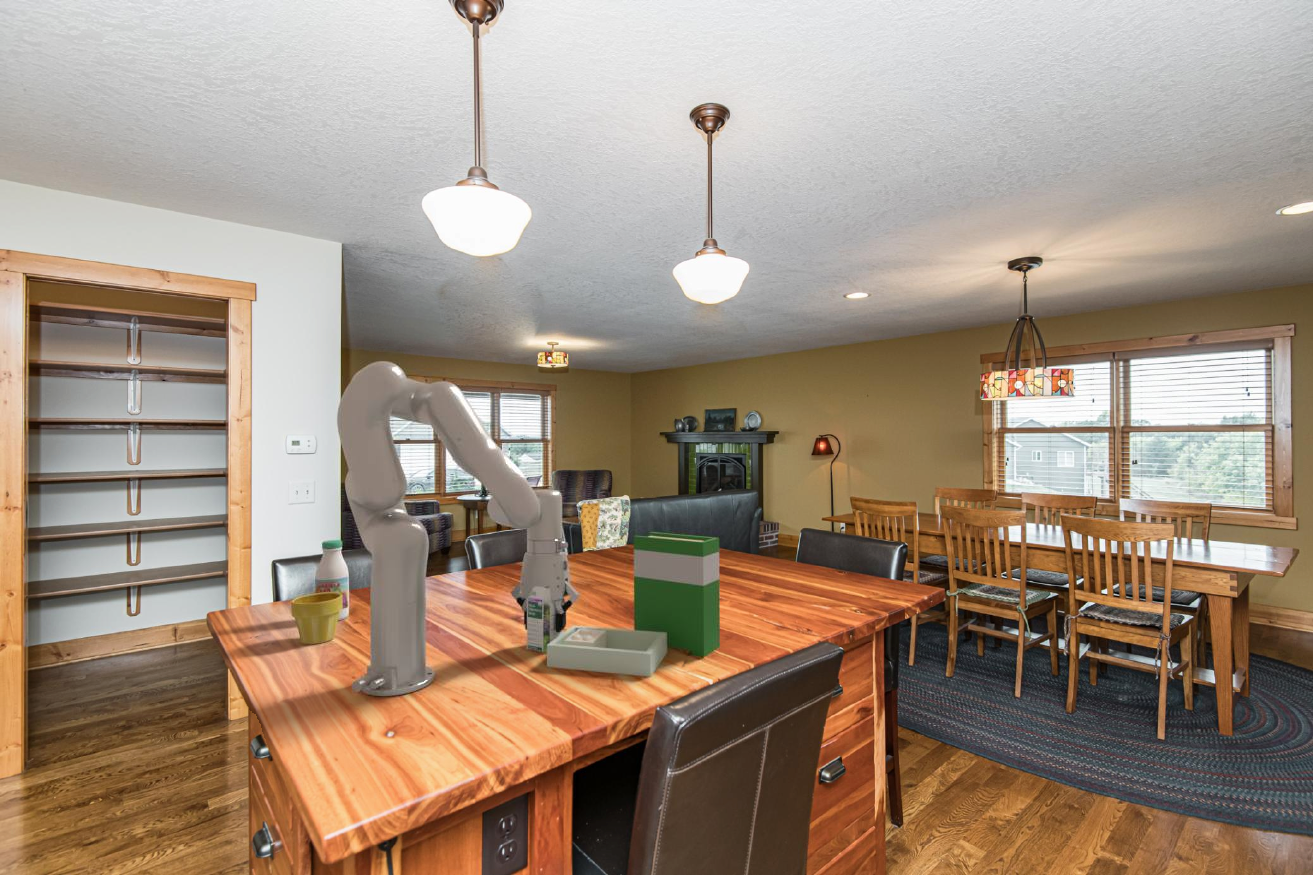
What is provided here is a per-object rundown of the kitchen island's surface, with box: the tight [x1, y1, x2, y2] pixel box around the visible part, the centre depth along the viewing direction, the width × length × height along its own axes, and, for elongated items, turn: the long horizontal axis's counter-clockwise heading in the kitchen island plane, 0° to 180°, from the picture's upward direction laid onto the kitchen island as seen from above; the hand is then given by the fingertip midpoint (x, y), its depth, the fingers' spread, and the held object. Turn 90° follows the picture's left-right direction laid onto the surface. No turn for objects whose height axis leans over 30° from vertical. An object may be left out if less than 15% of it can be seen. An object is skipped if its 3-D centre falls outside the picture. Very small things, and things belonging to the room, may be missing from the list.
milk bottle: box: [314, 539, 350, 621], centre depth 153 cm, size 8×8×20 cm
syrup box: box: [526, 586, 564, 654], centre depth 129 cm, size 6×6×14 cm
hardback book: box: [633, 531, 721, 659], centre depth 132 cm, size 18×7×24 cm, turn 57°
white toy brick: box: [564, 628, 606, 648], centre depth 122 cm, size 8×6×5 cm
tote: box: [546, 625, 668, 678], centre depth 121 cm, size 13×21×5 cm, turn 76°
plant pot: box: [290, 592, 343, 645], centre depth 136 cm, size 10×10×10 cm
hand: (545, 628), depth 129 cm, fingers closed on syrup box, 6 cm apart
